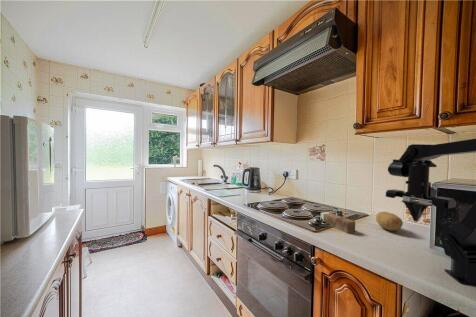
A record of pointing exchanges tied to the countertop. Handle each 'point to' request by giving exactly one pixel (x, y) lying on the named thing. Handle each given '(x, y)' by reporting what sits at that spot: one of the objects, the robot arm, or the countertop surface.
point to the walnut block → (339, 222)
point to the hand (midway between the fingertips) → (416, 221)
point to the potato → (389, 221)
